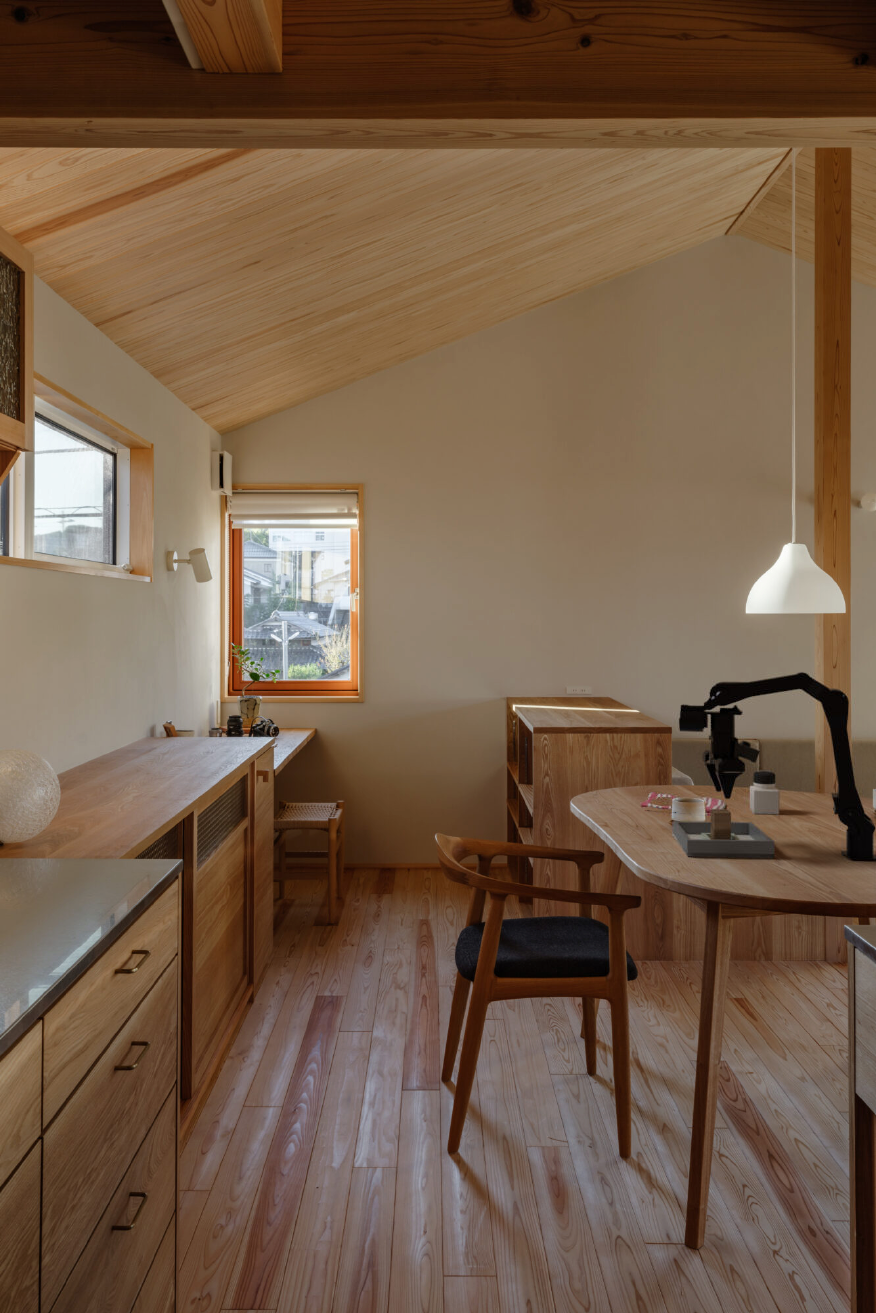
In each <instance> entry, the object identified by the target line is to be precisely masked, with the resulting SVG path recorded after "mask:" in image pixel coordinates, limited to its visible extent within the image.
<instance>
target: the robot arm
mask: <svg viewBox="0 0 876 1313" xmlns="http://www.w3.org/2000/svg"><path fill="white" fill-rule="evenodd" d="M796 690H801V691H803V692H805V693H806V694H807V695H809V696H810V697H812V698H813V699H815V700H816V701H817V702H819V703H820V704H821V707H822V709H823V712H824V716H825V718H826V721H827V724H828V727H829V732H830V738H831V745H832V753H833V759H834V765H835V773H836V781H837V792H831V793H830V795H831V798H832V801H833V806H832V809H833V813H834V814H833V815H837V817H838V819H839V821H840V822H841V823H842V824H843V825H844V826H847V829H846V830H845V831H846V838H845V840H846V842H845V843H846V844H845V845H846V850H840V853H841V854H842V855H843V856H844V857H846V858H847V859H849V860H851V861H876V855H875V853H874V843H875V842H874V841H875V840H874V839H875V838H874V836H875V835H874V833H875V831H876V826H875V824H874V822H873V819H871V817H870V816H868V815H867V814H866V813H865V810H864V807H863V804H862V801H861V798H860V796H859V792H858V789H857V786H856V781H855V774H854V768H853V760H852V754H851V748H850V747H851V746H850V739H849V733H848V721H849V710H850V709H849V705H850V704H849V703H850V702H849V698H848V696H847V694H846V693H845V692H843V691H842V690H841V689H838V688H830V687H827V686H826V685H824V684H822V683H821V682H820V681H818V680H816V679H815V678H813V677H812V676H810V675H809V674H808V673H807V672H804V671H800V672H796V673H794V674H788V675H781V676H776V677H772V678H771V677H770V678H764V679H757V680H751V681H720V682H716V683H715V684H714V685H713V686H711V688H710V691H709V697H708V699H707V700H706V701H704V702H703V705H696V704H695V705H691V704H684V703H683V704H681V705H680V710H679V712H680V713H679V718H678V726H679V727H678V728H679V731H680V732H691V733H704V729H708V728H709V715H710V735H708V740H709V741H710V749H705V751H703V753H702V761H703V762H704V763H703V764H704V766H705V768H706V770H707V772H708V775H709V777H710V779H711V780H710V781H711V782H712V784H713V786H714V788H715V792H716V793H719V792H722V794H723V796H724V799H726V800H730V799H731V796H732V793H733V789H734V785H735V784H736V783H735V782H736V779H737V778H738V777H740V776H741V775H743V774H744V773H745V772H746V763H745V762H743V760H742V759H740V758H743V759H745V760H748V761H750V762H751V763H755V764H756V762H757V760H758V757H759V755H760V752H761V751H760V750H758V749H756V748H753V747H751V746H752V745H751V743H750V742H748V741H746V740H742V741H740V742H739V738H738V737H736V734H735V733H736V730H735V728H736V725H735V724H736V719H735V718H736V717H735V716H742V715H743V710H741V709H740V708H739V706H738V705H737V704H735V703H737V702H741V701H743V700H745V699H749V698H753V697H758V696H764V695H770V694H777V693H783V692H784V693H785V692H789V691H796ZM732 704H735V705H733V706H732V707H725V706H729V705H732ZM718 706H719V707H720V708H719V710H718V711H711V710H713V709H715V708H716V707H718Z"/></svg>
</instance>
